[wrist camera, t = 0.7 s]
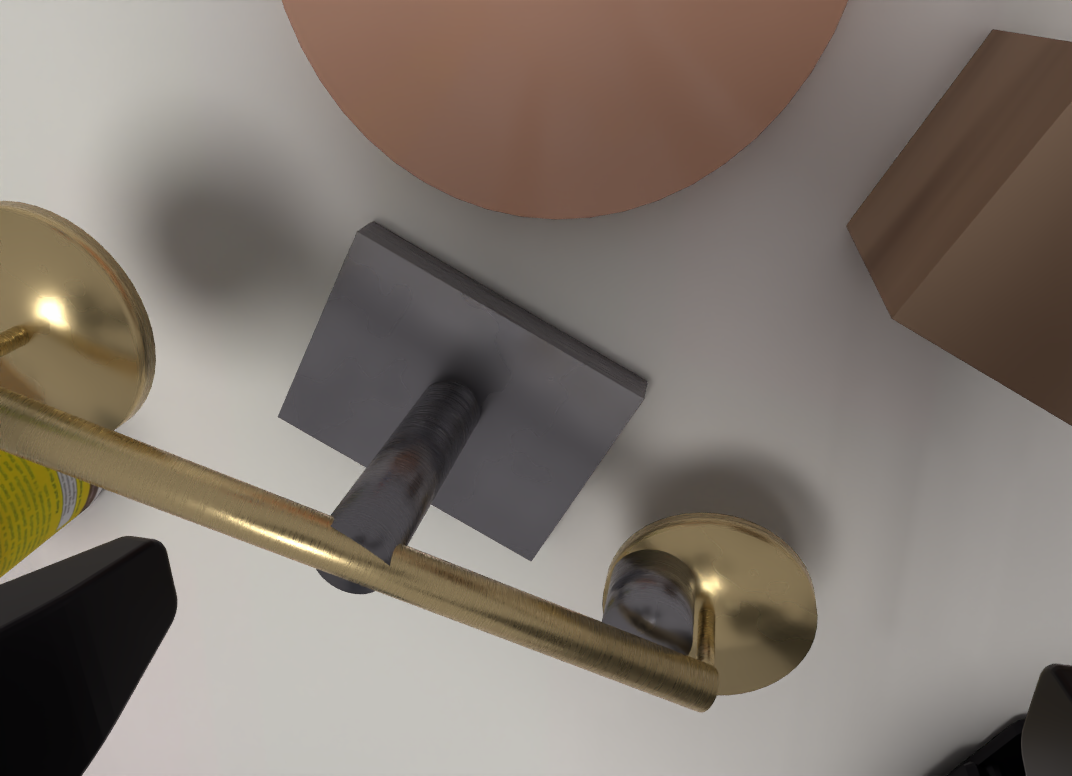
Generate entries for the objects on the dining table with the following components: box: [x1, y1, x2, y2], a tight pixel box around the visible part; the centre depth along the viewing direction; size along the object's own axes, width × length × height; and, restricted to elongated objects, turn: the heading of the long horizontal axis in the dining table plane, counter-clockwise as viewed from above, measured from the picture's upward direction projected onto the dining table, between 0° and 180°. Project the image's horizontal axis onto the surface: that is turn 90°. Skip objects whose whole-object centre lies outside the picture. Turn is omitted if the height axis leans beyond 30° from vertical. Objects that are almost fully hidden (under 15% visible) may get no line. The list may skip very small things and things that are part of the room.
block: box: [846, 29, 1072, 426], centre depth 15 cm, size 5×5×6 cm
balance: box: [0, 201, 817, 712], centre depth 18 cm, size 21×6×10 cm, turn 62°
